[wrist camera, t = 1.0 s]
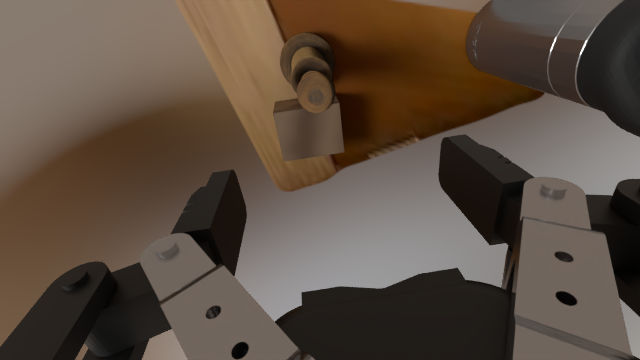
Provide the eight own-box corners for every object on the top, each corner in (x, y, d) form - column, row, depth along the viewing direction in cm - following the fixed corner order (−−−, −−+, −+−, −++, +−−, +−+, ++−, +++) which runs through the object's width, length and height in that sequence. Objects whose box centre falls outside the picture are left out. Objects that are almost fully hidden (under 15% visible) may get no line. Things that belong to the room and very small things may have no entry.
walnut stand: (334, 92, 40) (339, 103, 36) (339, 137, 43) (344, 152, 39) (275, 102, 40) (273, 113, 36) (284, 146, 43) (283, 161, 39)
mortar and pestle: (280, 86, 39) (273, 137, 23) (279, 30, 36) (270, 48, 20) (331, 87, 40) (356, 139, 24) (334, 33, 36) (366, 52, 21)
